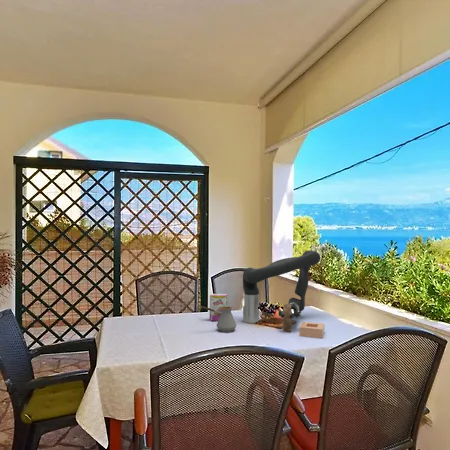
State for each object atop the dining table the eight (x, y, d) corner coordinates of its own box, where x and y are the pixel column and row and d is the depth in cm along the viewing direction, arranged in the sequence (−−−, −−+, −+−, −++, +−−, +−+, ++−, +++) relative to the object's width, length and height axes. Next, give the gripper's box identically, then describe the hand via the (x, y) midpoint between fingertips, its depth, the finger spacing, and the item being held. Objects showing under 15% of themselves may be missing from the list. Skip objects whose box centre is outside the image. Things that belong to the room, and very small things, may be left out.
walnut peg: (282, 331, 212) (282, 305, 211) (284, 329, 216) (284, 303, 215) (290, 332, 210) (290, 306, 210) (291, 330, 214) (291, 304, 214)
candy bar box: (209, 321, 234) (209, 295, 234) (210, 319, 239) (210, 293, 239) (227, 321, 233) (227, 295, 233) (227, 319, 238) (227, 293, 238)
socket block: (299, 335, 204) (299, 327, 204) (302, 330, 215) (302, 321, 215) (322, 338, 200) (322, 329, 200) (324, 332, 211) (324, 323, 211)
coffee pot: (232, 326, 223) (232, 301, 222) (239, 331, 212) (239, 305, 212) (197, 329, 216) (197, 303, 216) (202, 335, 205) (202, 308, 205)
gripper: (280, 302, 229) (273, 308, 213) (303, 304, 224) (299, 310, 208) (280, 315, 229) (273, 322, 213) (303, 317, 224) (299, 324, 208)
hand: (286, 316), depth 210 cm, fingers closed on walnut peg, 4 cm apart
